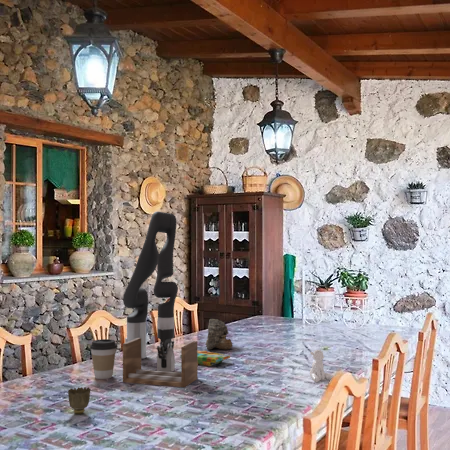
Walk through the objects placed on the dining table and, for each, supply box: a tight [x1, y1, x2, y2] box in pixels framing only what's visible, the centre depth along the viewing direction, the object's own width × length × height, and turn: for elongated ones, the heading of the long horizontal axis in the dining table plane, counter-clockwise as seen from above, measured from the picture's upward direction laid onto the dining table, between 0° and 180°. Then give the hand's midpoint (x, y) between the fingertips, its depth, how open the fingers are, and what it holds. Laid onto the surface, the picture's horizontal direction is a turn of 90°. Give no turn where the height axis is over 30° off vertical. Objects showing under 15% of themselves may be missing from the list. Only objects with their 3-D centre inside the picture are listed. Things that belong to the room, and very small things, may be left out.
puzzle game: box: [179, 349, 231, 367], centre depth 282 cm, size 12×5×20 cm
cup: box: [67, 386, 91, 415], centre depth 205 cm, size 8×7×8 cm
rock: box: [205, 318, 234, 351], centre depth 316 cm, size 18×14×15 cm
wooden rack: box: [122, 338, 199, 388], centre depth 249 cm, size 27×14×16 cm, turn 72°
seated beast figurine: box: [309, 349, 334, 383], centre depth 251 cm, size 10×9×12 cm
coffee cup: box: [89, 338, 118, 380], centre depth 255 cm, size 11×11×15 cm
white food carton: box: [156, 348, 176, 372], centre depth 267 cm, size 4×7×10 cm, turn 72°
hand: (165, 366), depth 267 cm, fingers closed on white food carton, 3 cm apart
